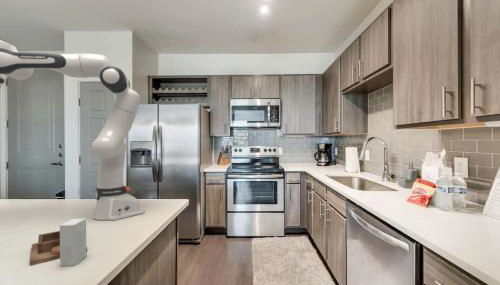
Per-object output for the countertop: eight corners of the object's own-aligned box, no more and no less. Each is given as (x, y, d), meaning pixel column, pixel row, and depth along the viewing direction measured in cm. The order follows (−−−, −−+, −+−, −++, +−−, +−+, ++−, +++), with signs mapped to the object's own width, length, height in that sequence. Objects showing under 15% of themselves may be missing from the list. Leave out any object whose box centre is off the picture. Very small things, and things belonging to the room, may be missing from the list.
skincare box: (72, 256, 76) (72, 218, 76) (86, 256, 77) (86, 218, 77) (59, 266, 70) (59, 225, 70) (74, 266, 71) (74, 224, 71)
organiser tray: (81, 237, 92) (81, 226, 92) (87, 251, 80) (87, 238, 80) (31, 247, 83) (31, 235, 83) (29, 265, 71) (29, 251, 71)
